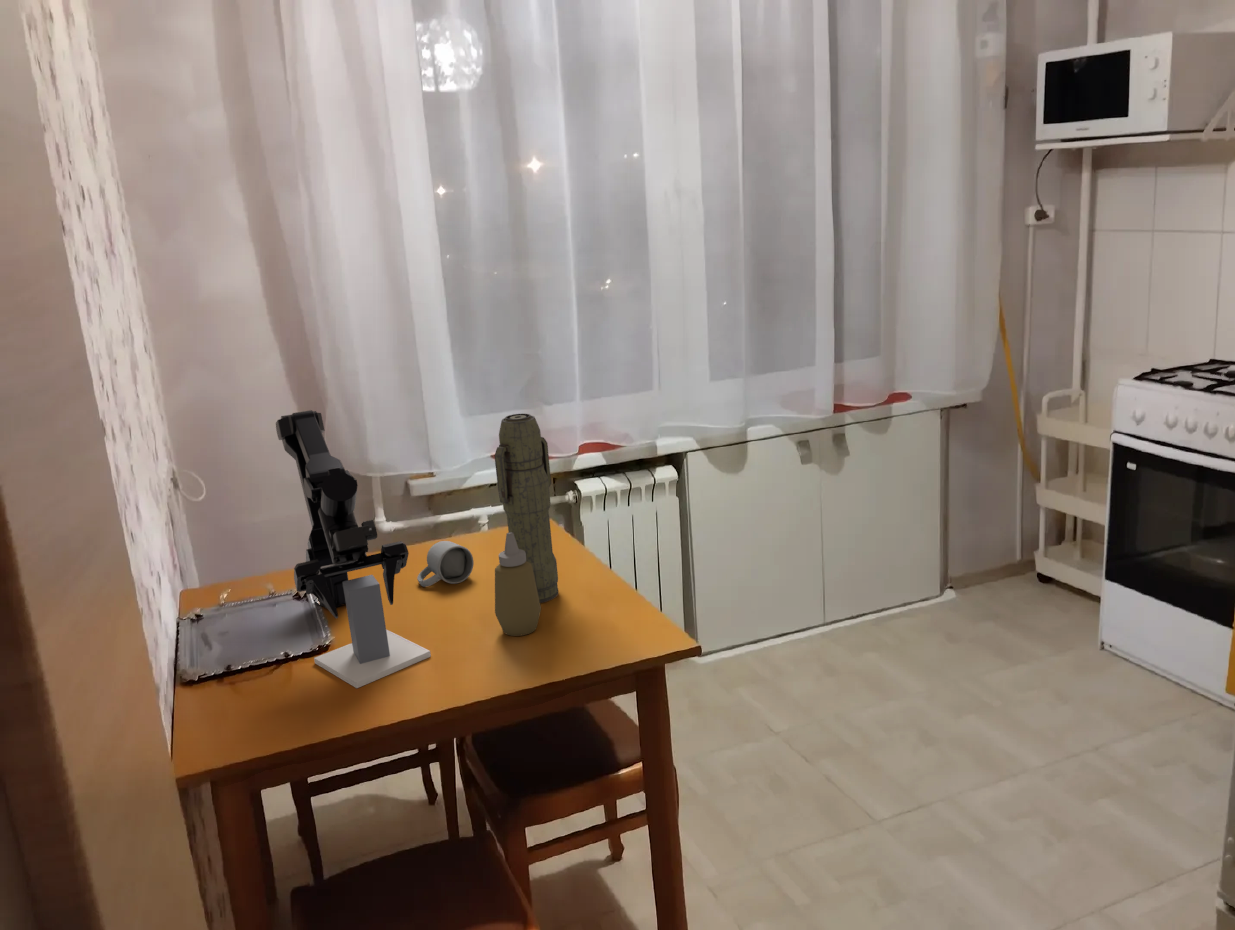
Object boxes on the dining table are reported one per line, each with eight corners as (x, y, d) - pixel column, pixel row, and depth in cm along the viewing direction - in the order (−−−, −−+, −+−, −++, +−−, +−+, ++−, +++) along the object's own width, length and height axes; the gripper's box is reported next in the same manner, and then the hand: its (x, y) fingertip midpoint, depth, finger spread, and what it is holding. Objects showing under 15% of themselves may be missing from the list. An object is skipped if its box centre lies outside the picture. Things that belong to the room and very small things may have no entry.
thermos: (573, 587, 190) (557, 410, 181) (534, 610, 181) (515, 425, 172) (538, 579, 195) (520, 407, 186) (498, 601, 186) (478, 421, 177)
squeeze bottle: (487, 632, 173) (476, 536, 168) (521, 616, 179) (512, 522, 174) (517, 644, 168) (507, 544, 163) (552, 627, 173) (543, 530, 168)
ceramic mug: (459, 567, 205) (454, 532, 203) (476, 577, 199) (471, 542, 197) (411, 582, 200) (406, 546, 198) (428, 593, 193) (422, 557, 191)
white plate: (314, 663, 166) (314, 657, 166) (387, 634, 175) (386, 629, 175) (356, 688, 156) (355, 682, 156) (430, 656, 165) (430, 650, 165)
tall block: (353, 652, 167) (342, 581, 163) (382, 645, 169) (372, 574, 165) (360, 664, 162) (348, 591, 159) (390, 656, 164) (379, 583, 161)
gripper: (285, 518, 160) (308, 604, 153) (398, 496, 168) (424, 576, 161) (285, 550, 169) (307, 631, 162) (392, 527, 177) (417, 604, 170)
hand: (364, 610), depth 164 cm, fingers open, 9 cm apart
